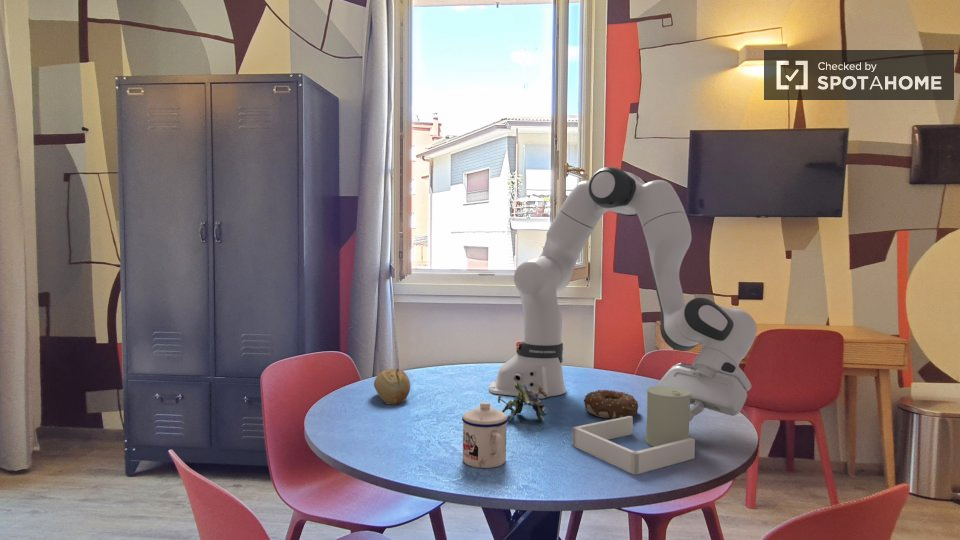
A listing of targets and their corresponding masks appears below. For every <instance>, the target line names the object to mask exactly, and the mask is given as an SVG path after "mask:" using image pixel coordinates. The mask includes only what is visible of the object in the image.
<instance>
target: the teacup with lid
mask: <svg viewBox="0 0 960 540" xmlns="http://www.w3.org/2000/svg"><path fill="white" fill-rule="evenodd" d="M461 421H462V460H463V462H464V464H465V465H468V466H469V467H473V468H479V469H493V468H497V467H500V466H502V465H504V464H505V463H506V462H507V461H506V460H507V424H508V422H509V419H508V416H507V414H506V413H505V412H504V413H503V412H502V411H501V410H498V409H495V408H494V407H492V406H491V403H490V402H488V401H483V402H481V403H480V404H479V406H478V407H475V408H474V409H471V410H468V411H466V412H464V413H463V415H462V418H461Z"/></svg>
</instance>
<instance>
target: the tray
mask: <svg viewBox="0 0 960 540" xmlns="http://www.w3.org/2000/svg"><path fill="white" fill-rule="evenodd" d="M633 422H634V417H633V416H626V417H621V418H616V419H611V418H610V419H607V420H603V421H597V422H592V423H588V424H583V425H578V426H573V427H572V433H571V434H572V435H571V437H572V439H571V441H572V442H571V445H572V447H575V448H576V449H578V450H581V451H583V452H585V453H587V454H589V455H591V456H593V457H595V458H598V459H600V460H602V461H604V462H606V463H608V464H611V465H612V466H615V467H617V468H619V469H621V470H623V471H625V472H627V473H629V474H631V475H634V476H636V475H640V474H644V473H647V472H651V471H655V470H658V469H662V468H665V467H669V466H672V465H676V464H679V463H683V462H687V461H690V460H694V459H695V451H696V450H695V449H696V447H695V446H696V445H695V444H696V440H695V438H692V437H689V438H688V439H684V440H680V441H676V442H672V443H668V444H664V445H660V446H656V447H653V446H651V447H648V448H644V449H640V450H633V449H630V448H627V447H625V446H623V445H620V444H618V443H617V442H616V443H615V442H613V441H611V440H612V439H613V440H614V439H617V438H621V437H627V436H630V435H631V436H632V435H633V424H634V423H633Z"/></svg>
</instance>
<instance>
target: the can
mask: <svg viewBox="0 0 960 540" xmlns="http://www.w3.org/2000/svg"><path fill="white" fill-rule="evenodd" d="M646 390H647V391H646V393H647V394H646V431H645V432H646V434H645V440H644V441H645V443H646V444H647V445H648V446H651V447H656V446H660V445H664V444H668V443H672V442H676V441H680V440H684V439H688V438H690V421H689V414H690V409H691V408H690V407H691V404H690V395H691V393H690V392H689V391H688V390H685V389H682V388H677V387H671V386H658V385H654V386H650V387H648V388H647V389H646Z"/></svg>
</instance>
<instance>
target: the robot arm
mask: <svg viewBox="0 0 960 540" xmlns="http://www.w3.org/2000/svg"><path fill="white" fill-rule="evenodd" d="M607 212H612V213H614V214H618V215H622V216H626V217H637V216H638V219H639V222H640V224H641V225H640V226H641V228H642V232H643V235H644V238H645V242H646V245H647V249H648V255H649V260H650V261H649V262H650V268H651V273H652V274H651V275H652V279H653V284H654V287H655V293H656V296H657V299H658V305H659V310H660V327H659V330H660V335H661V338H662V339H663V341H664V342H665V343H666V345H667V346H668V347H671V348H672V349H673V350H675V351H678V352H688V351H691V350H693V349H694V348H695V347H697V346H698V345H700V347H701V350H700V351H699V353H698V354H697V356H696V358H695V359H694V361H693V363H692V364H689V363H688V364H686V363H685V362H680V363H677V364H674V365H672V366H671V367H670V369H668V370H667V372H665V374H664V375H663V376H662V377H661V379H660V380H659V382H658V384H657V386H671V387H677V388H682V389H685V390H688V391H689V392H690V393H691V395H690V405H693V406H692V407H691V408H690V414H689V422H691V421H692V420H693V418H694V417H695V416H697V415H699V414H701V413H702V412H704V410H705V409H707V410H710V411H714V412H718V413H721V414H724V415H728V416H730V417H731V416H732V417H734V416H736V415H738V414H739V413H741V411H742V409H743V407H744V405H745V403H746V401H747V398H748V393H747V392H749V391H750V390H751V389H752V383H751V382H750V380H749V379H748V376H747V375H746V374H745V372H744V371H743V370H742V369H741V367H740V362H741V361H742V360H743V359H744V358H746V356H747V354H748V352H749V350H750V349H751V347H752V345H753V343H754V340H755V339H756V336H757V329H758V328H757V322H756V321H755V319H754V318H753V316H751V315H750V314H749V313H748V312H747V311H745V310H743V309H741V308H735V307H734V308H730V307H725V306H722V305H719V304H717V303H715V302H714V301H712V300H711V299H708V298H705V297H696V298H693V299H690V300H689V301H687V302H685V301H686V300H685V296H684V292H683V288H682V285H681V280H680V270H681V266H682V262H683V259H684V257H685V256H686V254H687V252H688V250H689V249H690V245H691V243H692V239H693V238H692V229H691V225H690V221H689V219H688V216H687V213H686V210H685V208H684V206H683V203H682V202H681V199H680V197H679V195H678V194H677V192H676V190H675V189H674V187H673V185H672V184H671V183H670V182H668V181H666V180H663V179H656V180H651V181H646V180H644V179H643V178H641V177H639V176H637V174H634V173H632V172H629V171H626V170H623V169H620V168H618V167H614V166H607V167H602V168H600V169H598V170H597V171H596V172H594V173H593V174H592V175H591V177H590V180H582V181H580V182H578V183H577V184H576V186H574V188H573V189H572V190H571V192H570V193H569V194H568V196H567V197H566V198H565V200H564V201H563V203H562V204H561V206H560V209H559V210H558V212H557V213H556V215H555V217H554V219H553V220H552V223H551V224H550V226H549V227H548V229H547V231H546V233H545V235H546V239H545V243H544V246H543V249H542V251H541V254H540V255H539V256H538V257H532V258H529V259H527V260H525V261H524V262H522V263H520V265H518V266H517V267H516V269H515V271H514V275H513V282H514V285H515V287H516V289H517V290H518V291H519V297H520V301H521V306H522V307H521V308H522V311H523V341H522V340H518V341H517V342H516V343H515V346H516V354H515V355H514V356H513V357H511V358H510V359H508V360H507V361H506V362H504V363H503V364H502V365H501V366H499V367H500V368H499V369H498V371H497V376H496V379H495V380H492V382H490V384H489V386H488V390H489V392H490V393H491V394H495V395H504V396H511V397H513V396H514V397H516V396H517V397H518V393H519V392H518V390H517V389H516V388H515V384H517V382H519V383H520V384H521V386H523V384H524V385H526V387H527V388H528V389H531V391H532V392H533V393H534V394H537V393H538V392H539V390H538V388H537V385H538V386H540V387H541V388H542V389H543V390H544V392H545V393H546V395H547V397H545V396H544V395H543V394H539V395H538V397H539V398H538V399H546V398H549V397H555V396H560V395H564V394H566V392H567V388H566V385H565V381H564V380H565V379H564V373H563V372H564V371H563V362H564V344H563V342H562V341H563V339H562V335H563V316H562V313H561V311H560V308H559V304H558V299H557V296H558V295H557V294H558V293H560V292H562V291H563V290H565V289H566V288H567V286H568V285H569V284H570V282H571V280H572V275H573V273H574V270H575V267H576V265H577V262H578V259H579V257H580V254H581V252H582V250H583V248H584V247H585V245H586V244H587V241H588V239H589V238H590V236H591V234H592V232H593V231H594V230H595V228H596V226H597V225H598V222H599V221H600V219H601V218H602V216H603V215H604V214H605V213H607Z"/></svg>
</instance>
